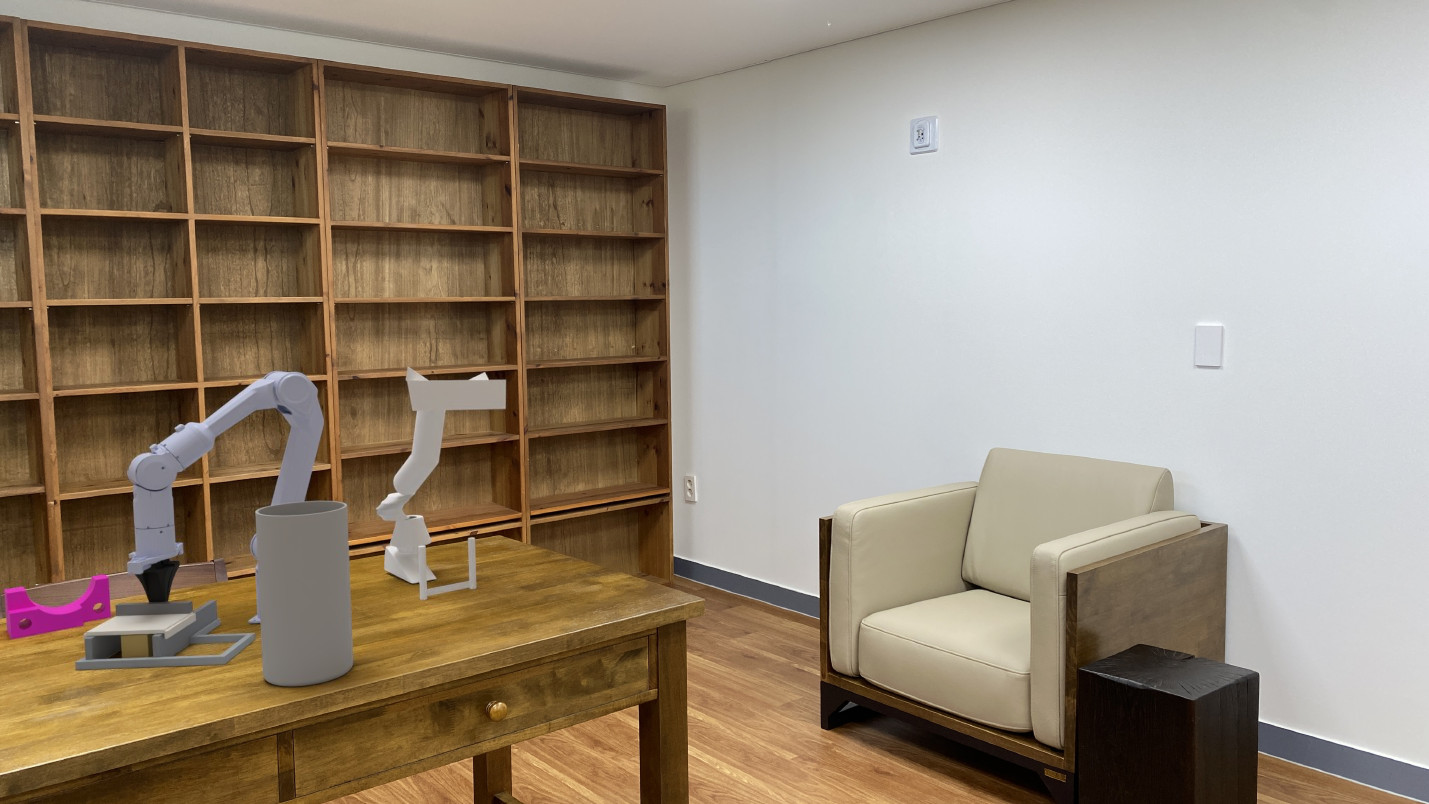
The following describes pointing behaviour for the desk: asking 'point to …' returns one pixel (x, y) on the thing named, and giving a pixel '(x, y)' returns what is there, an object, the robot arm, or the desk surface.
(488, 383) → the desk lamp
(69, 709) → the desk surface
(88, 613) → the toy block
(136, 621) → the cover
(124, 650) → the block
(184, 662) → the gray square frame
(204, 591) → the desk surface
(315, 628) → the cylinder vase
